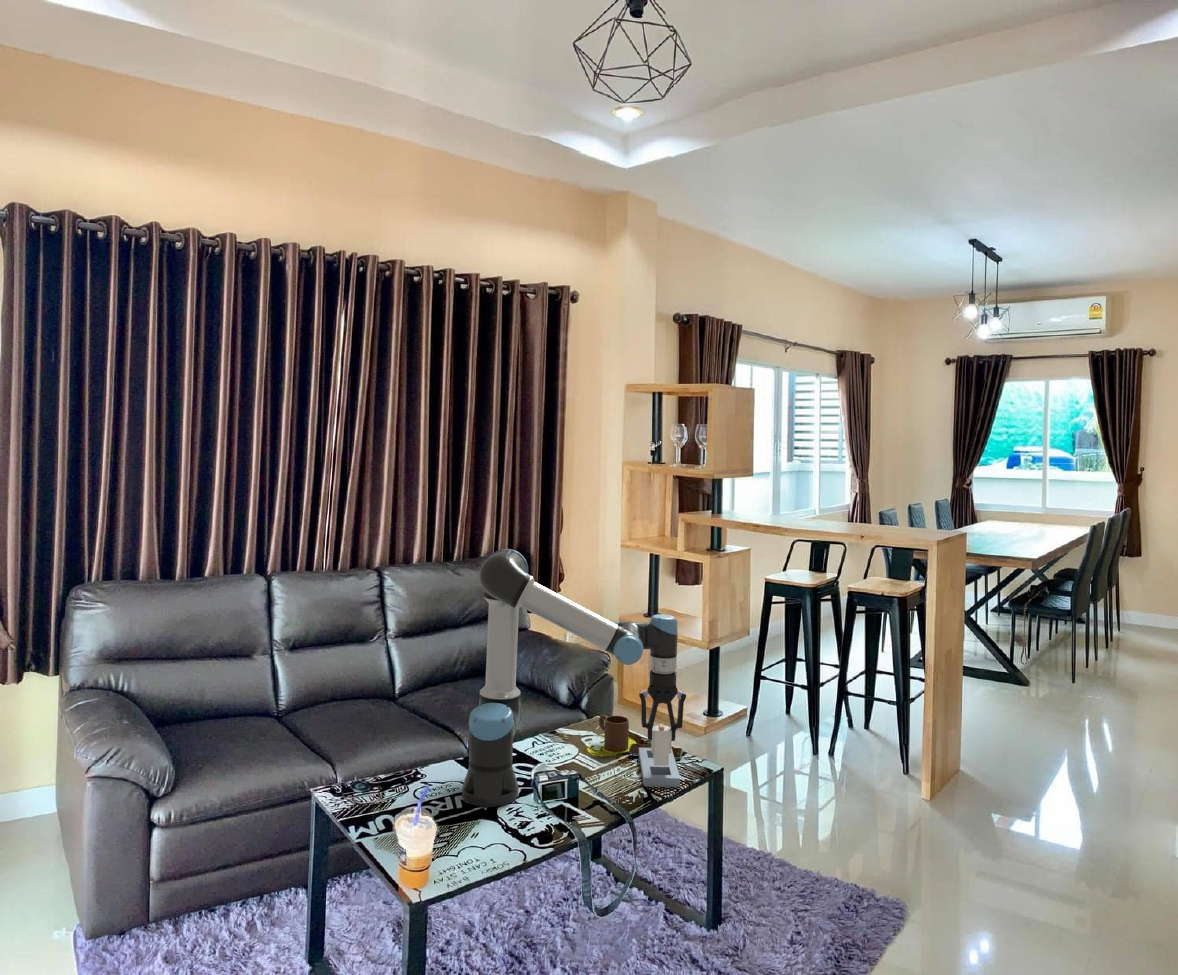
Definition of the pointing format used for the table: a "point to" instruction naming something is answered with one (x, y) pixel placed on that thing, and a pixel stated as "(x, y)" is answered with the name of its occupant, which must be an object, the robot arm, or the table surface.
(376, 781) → the table surface
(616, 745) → the mug
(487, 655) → the robot arm
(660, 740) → the plug
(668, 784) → the panel
